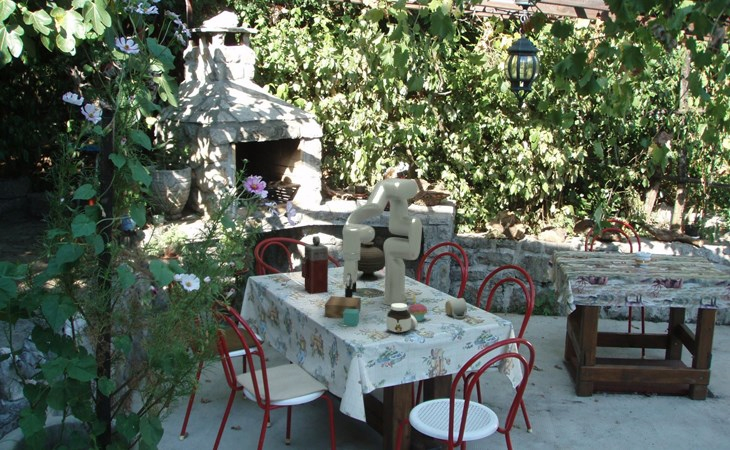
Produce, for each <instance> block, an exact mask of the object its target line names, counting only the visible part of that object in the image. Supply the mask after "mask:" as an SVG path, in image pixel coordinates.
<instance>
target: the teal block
mask: <svg viewBox="0 0 730 450" xmlns="http://www.w3.org/2000/svg"><path fill="white" fill-rule="evenodd" d="M359 323H360V312H359V309H345V310H344V312H343V319H342V326H343V325H347V326H346V327H355V326H357V327H358V325H359Z"/></svg>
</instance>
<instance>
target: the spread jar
mask: <svg viewBox="0 0 730 450" xmlns="http://www.w3.org/2000/svg"><path fill="white" fill-rule="evenodd" d="M418 322H419V321H417V320H416V318H415V317H414V316H413V315H411V314H410V312H409V311H408V305H407V304H403V303H394V304H392V305H390V310H389V311H388V312H387V315H386V329H387V330H388V331H389V332H390V333H391V334H394V335H405V334H406V333H408V332H409V331H410V330H416V329H417V328H418V326H419V323H418Z"/></svg>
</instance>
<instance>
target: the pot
mask: <svg viewBox="0 0 730 450" xmlns="http://www.w3.org/2000/svg"><path fill="white" fill-rule="evenodd" d="M374 244H375V243H374V242H372V241H370V242H368V243H362V245H364V246H363V247H360V260H358V272H362V274H361V275H359V276H358V279H359V280H362V281H365V282H367V281H368V282H371V281H372V282H373V281H377V280H378V278H379V277H378V276H377V275H376V274H375V273H377V272H380V271H381V270H384V269H385V255H384V251H382V250H381V249H380V248H379V247H375V246H373V245H374Z"/></svg>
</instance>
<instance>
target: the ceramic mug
mask: <svg viewBox="0 0 730 450" xmlns="http://www.w3.org/2000/svg"><path fill="white" fill-rule="evenodd" d="M444 305H445V306H444V307H445V313H446V314H447V316H449V317H453V318H454V319H456V320H463V319H465V318H466V314H467V310H468V307H467V302H466V300H465V299H464V298H463V297H460V298H454V299H453V298H452V299H449V300H447V301H446V302H445V303H444ZM462 318H463V319H462Z"/></svg>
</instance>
